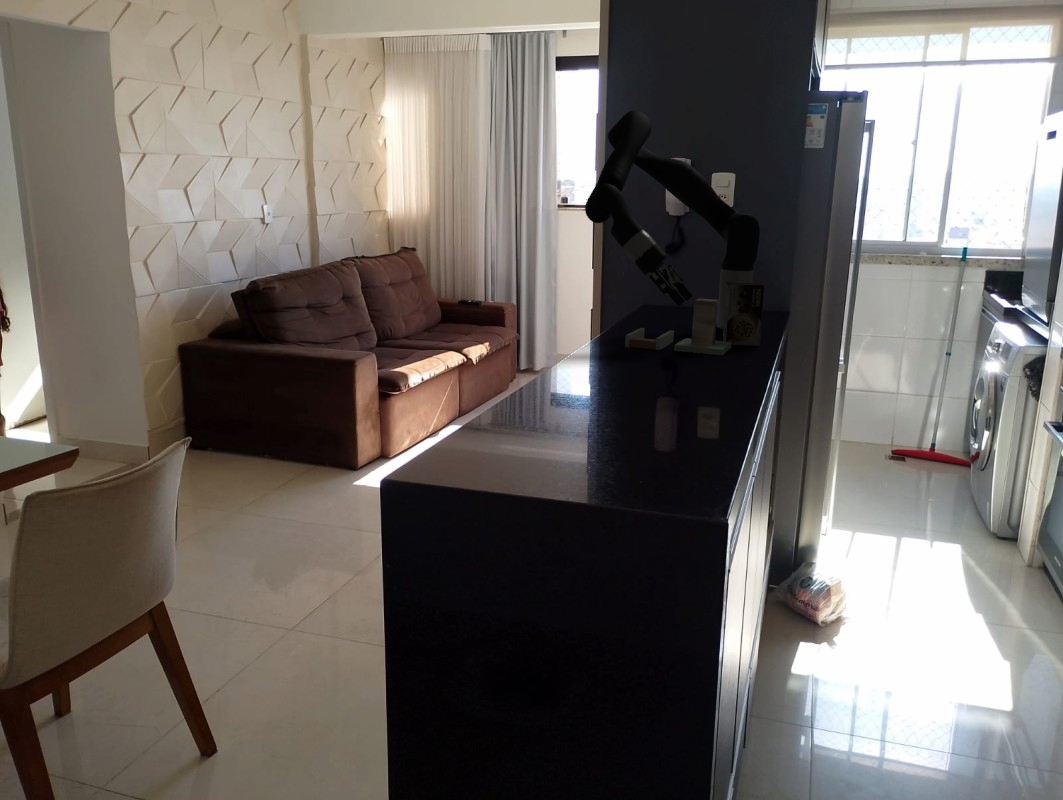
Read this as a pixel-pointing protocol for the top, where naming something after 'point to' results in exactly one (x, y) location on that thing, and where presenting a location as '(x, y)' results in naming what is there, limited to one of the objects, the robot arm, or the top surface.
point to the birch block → (704, 322)
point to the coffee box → (743, 313)
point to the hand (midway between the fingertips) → (686, 300)
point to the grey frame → (648, 340)
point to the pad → (703, 347)
